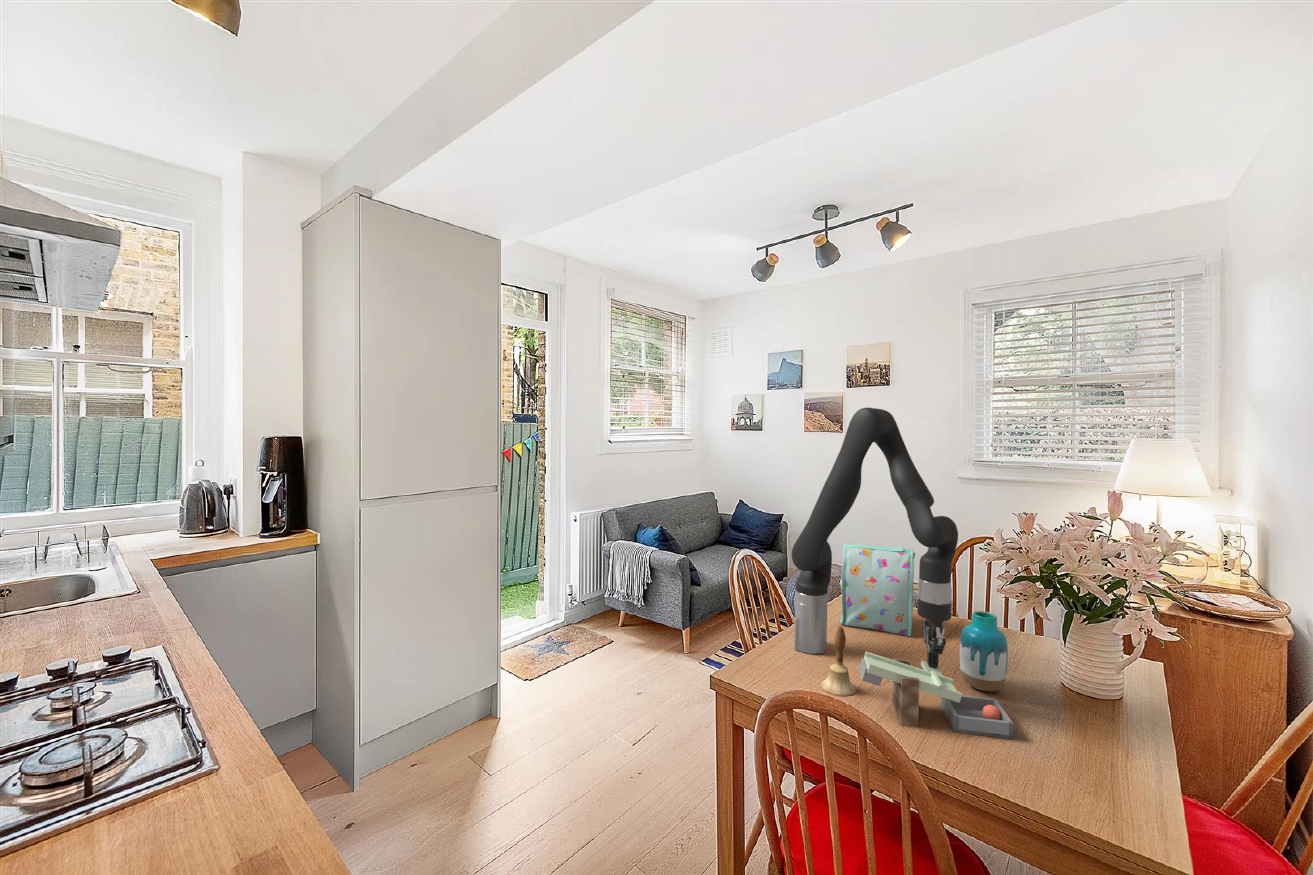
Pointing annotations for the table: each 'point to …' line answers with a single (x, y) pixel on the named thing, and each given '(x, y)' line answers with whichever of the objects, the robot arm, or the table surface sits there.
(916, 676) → the lever
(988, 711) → the ball
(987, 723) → the tray
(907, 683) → the fulcrum
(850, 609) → the lunch bag
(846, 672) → the hand bell
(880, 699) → the table surface
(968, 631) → the vase
